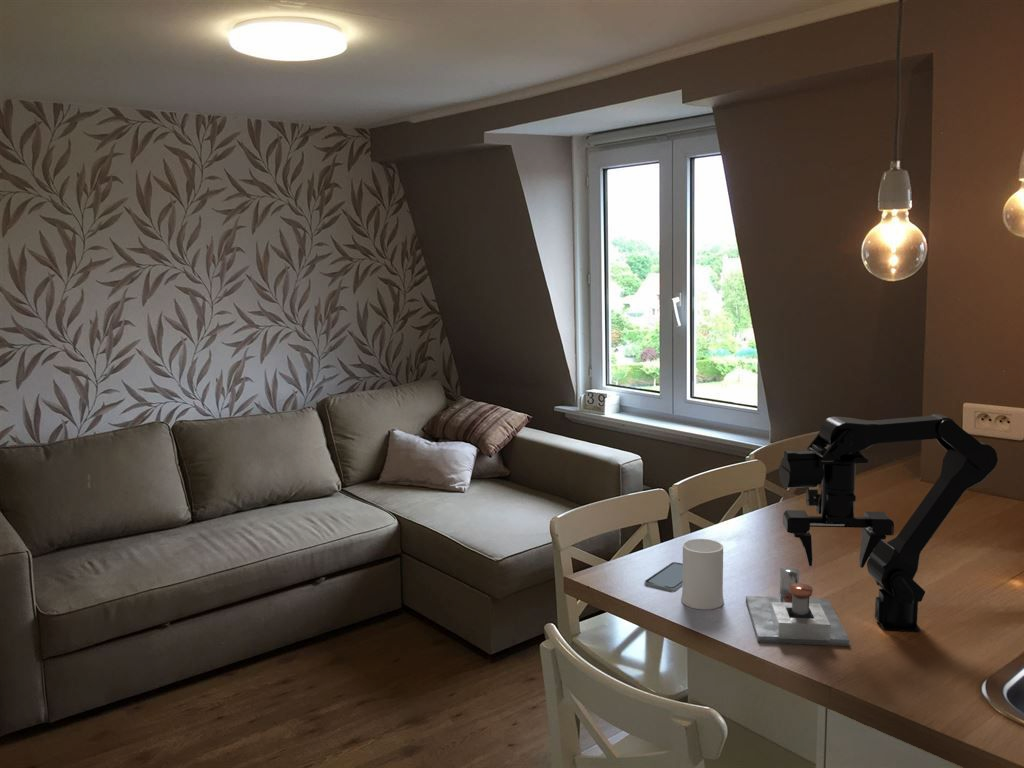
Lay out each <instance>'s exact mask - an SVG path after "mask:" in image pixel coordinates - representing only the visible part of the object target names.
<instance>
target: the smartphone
mask: <svg viewBox="0 0 1024 768" xmlns="http://www.w3.org/2000/svg"><path fill="white" fill-rule="evenodd" d="M644 585H645V586H647V587H649V588H655V589H659V590H663V591H668V592H676V591H677V590H679V589H680V588H681V587H682V585H683V562H681V563H680V562H676V561H673V562H671V563H669V564H668V565H666V566H665V567H663V568H662V569H660V570H659V571H657V572H656V573H653V574H652V575H651V576H650V577H648V578H647V579H645V580H644Z"/></svg>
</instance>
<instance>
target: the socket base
mask: <svg viewBox="0 0 1024 768" xmlns="http://www.w3.org/2000/svg"><path fill="white" fill-rule="evenodd" d="M779 570H780V571H779V574H780V575H779V577H780V578H779V596H759V595H758V596H755V595H753V596H752V595H746V596H745V604H746V607H747V610H748V614H749V617H750V620H751V623H752V627H753V630H754V634H755V637H756V640H758V641H757V643H761V642H765V643H766V642H767V643H768V642H769V643H768V644H786V643H788V644H789V643H791V644H792V645H813V646H814V645H816V646H817V645H818V646H819V645H820V646H840V647H842V646H843V647H849V646H850V637H849V636H848V634H847V633H846V631H845V629H844V627H843V625H842V623H841V621H840V619H839V618H838V615H837V614H836V612H835V610H834V608H833V606H832V605H831V603H830V600H829V598H822V597H821V598H818V597H817V598H816V597H815V598H814V597H809V618H792V594H791V593H790V585H791V584H795V583H800V569H799V568H797V567H794V566H782V567H781V568H780V569H779Z"/></svg>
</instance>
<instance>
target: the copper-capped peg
mask: <svg viewBox="0 0 1024 768" xmlns="http://www.w3.org/2000/svg"><path fill="white" fill-rule="evenodd" d="M790 593H791V594H792V618H809V598H810V597H811V596H813V587H812V586H811V585H809V584H807V583H806V584H805V583H800V582H799V583H795V584H791V585H790Z"/></svg>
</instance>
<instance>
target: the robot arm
mask: <svg viewBox="0 0 1024 768" xmlns="http://www.w3.org/2000/svg"><path fill="white" fill-rule="evenodd" d="M924 440H936V441H937V443H938V444H939V445H940V446H942V448H944V449H945V450H946V452H945V455H944V457H943V458H942V464H941V470H940V471H941V472H940V475H939V477H938V478H937V480H936V481H935V483H934V484H933V486H931V488H930V490H929V491H928V492H927V494H926V495H925V497H924V498H923V500H922V501H921V502H920V504H919V505H918V507H917V508H916V509H915V511H914V512H913V513H912V514H911V516H910V517H909V519H908V520H907V522H906V523H905V525H904V526H903V528H902V529H901V530H900V532H899V533H897V536H896V537H895V538H893V539H891V540H889V541H887V542H886V541H885V540H886V539H887V536H893V535H894V534H895V524H894V521H893V520H892V518H890V517H889V516H888V514H887V513H886V512H885V511H864V513H863V517H861V516H856V517H855V502H856V499H857V498H856V497H857V496H856V473H857V472H856V470H857V464H868V463H869V459H868V458H866V457H865V456H864V455H863V454H862V453H861V451H864V450H866V449H867V450H868V448H870V447H872V446H874V445H879V444H889V443H901V442H912V441H924ZM827 446H828V448H826V447H827ZM998 463H999V458H998V453H997V452H996V450H995V448H994V447H993V446H992V445H989V444H986V443H984V442H982V441H979V440H978V439H977V438H975V437H974V436H972V434H970V433H968V432H967V431H966V430H964V429H963V428H962V427H961V426H960V425H958V424H957V423H956V421H955V420H953V418H950V417H948V416H945V415H943V414H939V413H933V414H930V415H923V416H922V415H921V416H911V417H898V418H889V419H887V418H885V419H876V420H867V419H859V418H856V417H855V418H854V417H847V416H846V417H844V416H831V417H827V418H826V419H825V420H824V421H823V423H821V425H820V427H819V432H818V433H817V434H816V435H815V436H814V438H813V440H812V441H811V442H810V443H809V445H808V446H807V448H806V450H802V451H801V450H800V451H799V450H798V451H795V450H784V452H783V457H782V458H781V461H780V465H778V475H779V481H780V484H781V485H782V488H783V489H799V488H801V489H802V488H817V487H818V485H821V489H820V493H819V489H805V490H806V491H805V492H806V493H805V503H806V506H807V507H815V508H816V512H817V514H819V515H820V516H815V515H814V516H813V515H812V516H811V515H808V513H807V512H806V510H803V509H802V510H799V509H798V510H797V509H794V510H793V509H792V510H788V509H786V510H785V511H784V512H783V514H782V525H783V526H784V528H785V531H786V532H787V533H788V534H792V535H793V536H794V537H795V538H796V539H797V538H799V541H800V542H801V545H802V548H803V551H804V554H805V557H806V561H807V563H808V566H809V567H813V547H812V546H813V542H812V540H813V539H812V534H811V533H810V530H811V527H812V528H815V527H816V528H852V529H853V528H855V529H857V528H858V529H861V544H860V551H859V552H860V553H859V562H858V563H859V567H860V569H861V568H862V569H863V568H864V566H865V565H866V567H867V572H868V574H869V575H870V576H871V578H873V579H874V580H875V584H876V585H877V586H878V587H880V588H879V589H878V596H876V597H875V601H874V602H875V606H874V607H875V608H874V618H875V619H876V621H877V622H878V623H879V625H880V626H881V627H882V629H883V630H884V631H903V632H919V631H921V628H920V626H919V625H918V611H919V602H920V603H921V602H922V601H923V598H924V596H925V594H926V590H924V588H922V587H921V586H920V585H919V583H917V582H916V581H915V580H914V578H915V577H916V574H917V572H918V569H919V563H920V556H921V553H922V551H923V550H924V548H925V547H926V546H927V544H928V543H929V542H930V540H932V537H933V536H934V535H935V533H936V532H937V530H938V529H939V528H940V526H941V525H942V524H943V523H944V521H945V520H946V519H947V517H948V515H949V514H950V513H951V511H952V510H953V509H954V507H955V506H956V504H957V502H958V501H959V500H960V499H961V498H962V496H963V495H964V493H965V492H966V491H967V490H968V489H970V488H972V487H974V486H976V485H978V484H980V483H982V482H983V481H984V480H985V479H986V478H987V477H988V476H989V475H990V474H991V473H992V472H993V471H994V470H995V469H996V467H997V465H998Z"/></svg>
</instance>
